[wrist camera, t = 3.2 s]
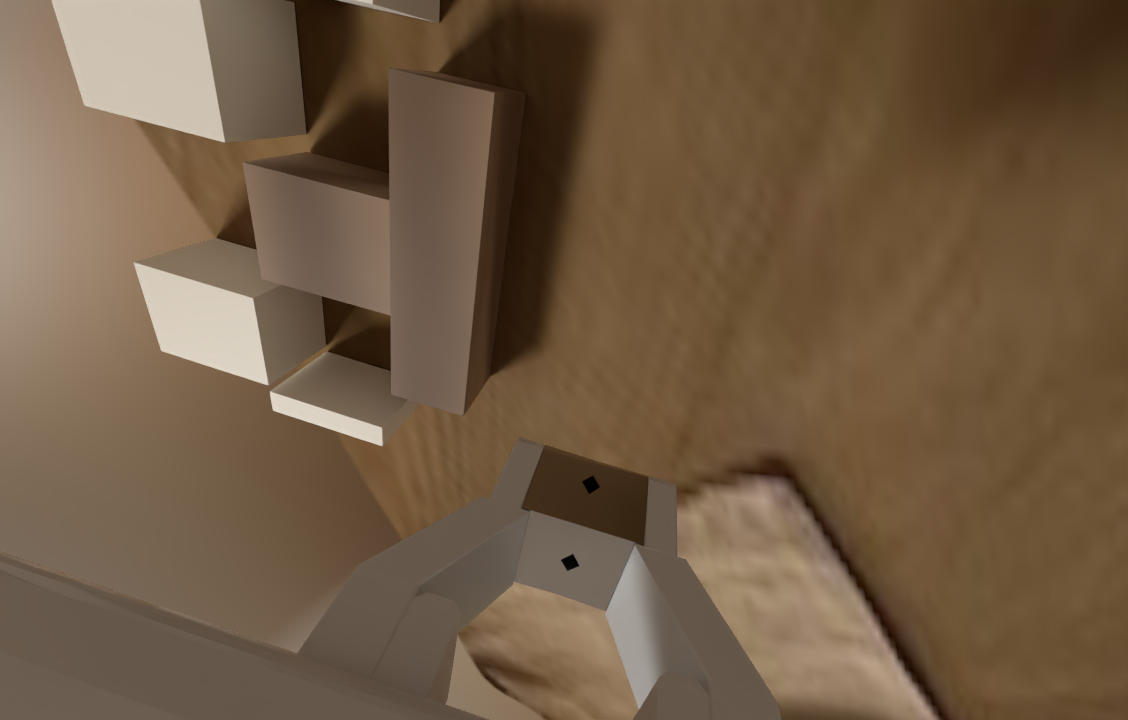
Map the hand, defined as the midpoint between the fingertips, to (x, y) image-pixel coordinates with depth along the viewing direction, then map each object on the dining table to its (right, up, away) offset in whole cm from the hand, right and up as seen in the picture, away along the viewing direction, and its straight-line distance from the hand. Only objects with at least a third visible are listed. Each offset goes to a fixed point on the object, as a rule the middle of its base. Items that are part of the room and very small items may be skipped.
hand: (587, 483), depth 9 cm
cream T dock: (-10, +8, +10) cm, 16 cm away
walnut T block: (-7, +7, +9) cm, 13 cm away
